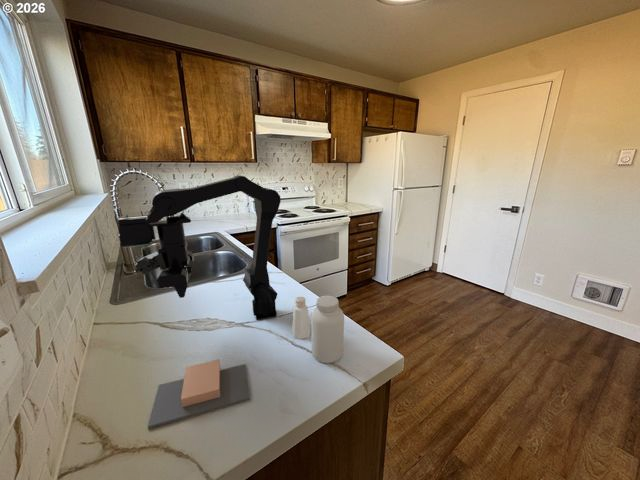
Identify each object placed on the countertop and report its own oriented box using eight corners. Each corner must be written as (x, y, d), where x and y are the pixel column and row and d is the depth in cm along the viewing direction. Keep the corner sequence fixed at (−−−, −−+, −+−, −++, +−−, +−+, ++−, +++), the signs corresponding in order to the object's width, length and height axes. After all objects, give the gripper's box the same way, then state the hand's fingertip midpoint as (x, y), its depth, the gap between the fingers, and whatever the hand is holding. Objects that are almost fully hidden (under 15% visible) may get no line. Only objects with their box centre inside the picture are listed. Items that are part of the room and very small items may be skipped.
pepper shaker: (287, 333, 75) (286, 298, 72) (301, 325, 79) (300, 291, 76) (301, 342, 72) (299, 305, 68) (315, 333, 75) (314, 298, 72)
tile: (219, 359, 62) (219, 389, 54) (220, 366, 62) (220, 397, 54) (186, 366, 60) (180, 399, 51) (187, 374, 60) (182, 407, 52)
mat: (245, 366, 63) (245, 363, 63) (249, 400, 54) (249, 397, 54) (159, 387, 58) (159, 384, 57) (148, 429, 49) (147, 426, 48)
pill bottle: (320, 369, 62) (320, 312, 58) (306, 348, 69) (305, 296, 65) (349, 357, 66) (350, 303, 62) (333, 339, 73) (333, 289, 68)
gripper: (145, 235, 73) (155, 286, 77) (122, 257, 56) (137, 322, 60) (190, 231, 76) (197, 281, 81) (181, 251, 59) (191, 312, 64)
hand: (182, 297), depth 71 cm, fingers closed
